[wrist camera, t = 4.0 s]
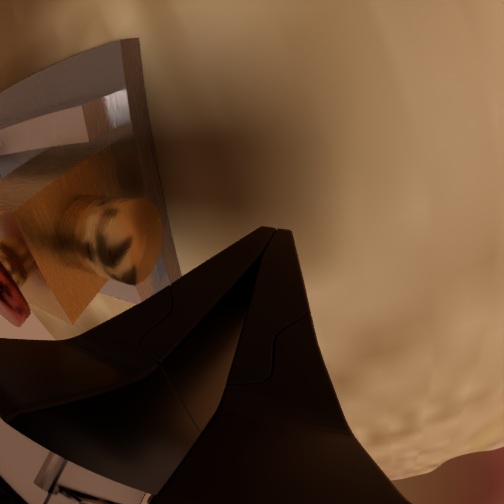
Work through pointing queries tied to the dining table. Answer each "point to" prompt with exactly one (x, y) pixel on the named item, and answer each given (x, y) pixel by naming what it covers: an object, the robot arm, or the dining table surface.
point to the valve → (70, 233)
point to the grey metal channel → (93, 134)
